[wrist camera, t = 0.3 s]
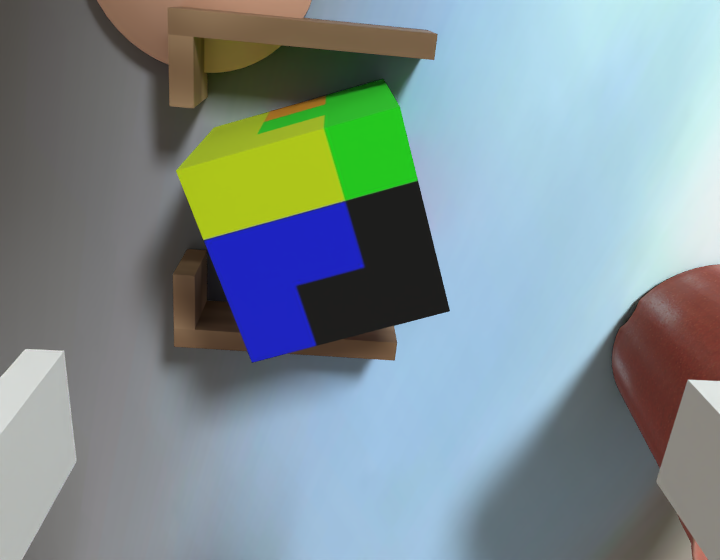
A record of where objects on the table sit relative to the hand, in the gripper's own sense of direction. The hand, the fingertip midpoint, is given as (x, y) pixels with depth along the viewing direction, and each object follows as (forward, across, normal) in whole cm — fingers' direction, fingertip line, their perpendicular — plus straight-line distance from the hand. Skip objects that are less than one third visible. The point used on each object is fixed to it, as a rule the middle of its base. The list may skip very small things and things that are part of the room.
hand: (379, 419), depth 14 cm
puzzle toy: (+27, -1, -2) cm, 27 cm away
